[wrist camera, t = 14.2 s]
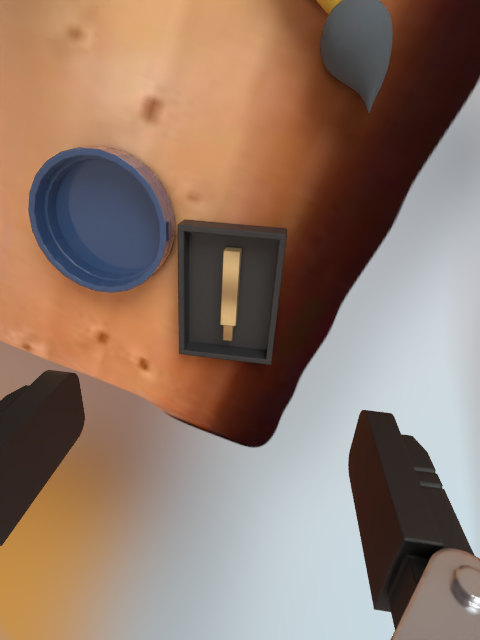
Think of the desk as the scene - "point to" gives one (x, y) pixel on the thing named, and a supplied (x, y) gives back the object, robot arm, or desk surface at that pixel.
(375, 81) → the paintbrush
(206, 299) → the pen tray
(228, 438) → the desk surface
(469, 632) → the robot arm
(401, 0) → the desk surface
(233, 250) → the wooden stick
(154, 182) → the bowl
